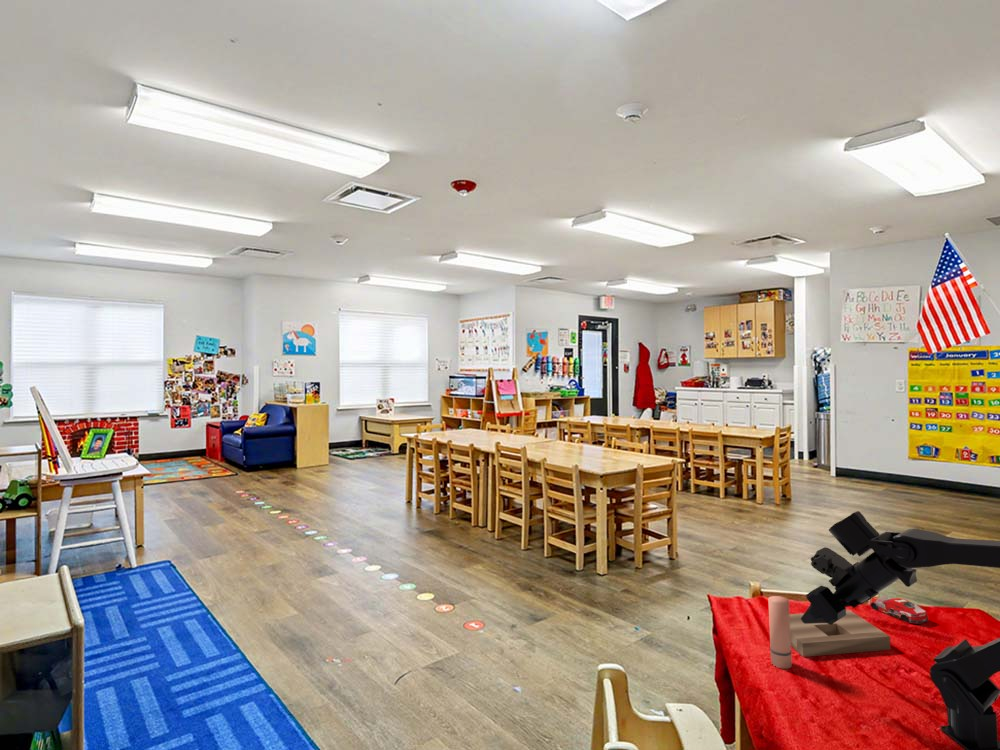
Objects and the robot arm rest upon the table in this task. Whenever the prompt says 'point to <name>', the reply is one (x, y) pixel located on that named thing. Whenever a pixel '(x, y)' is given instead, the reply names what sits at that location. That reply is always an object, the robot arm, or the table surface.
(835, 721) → the table surface
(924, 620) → the race car
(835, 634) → the board
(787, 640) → the peg
